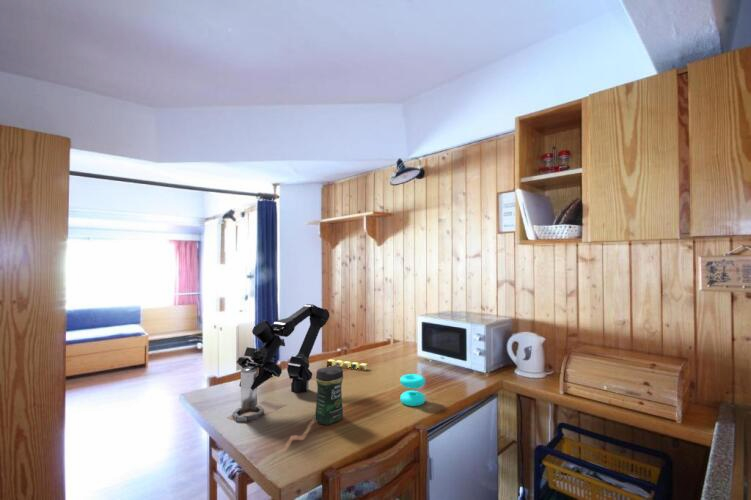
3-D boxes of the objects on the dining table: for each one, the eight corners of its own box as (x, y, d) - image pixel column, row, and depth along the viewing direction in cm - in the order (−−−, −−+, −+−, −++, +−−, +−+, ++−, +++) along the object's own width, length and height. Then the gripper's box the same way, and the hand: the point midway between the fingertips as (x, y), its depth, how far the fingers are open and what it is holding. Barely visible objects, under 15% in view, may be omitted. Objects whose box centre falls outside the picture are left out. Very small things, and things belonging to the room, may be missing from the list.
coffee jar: (326, 427, 116) (326, 372, 117) (311, 420, 122) (312, 367, 123) (347, 418, 123) (347, 366, 124) (332, 412, 129) (332, 362, 130)
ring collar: (267, 410, 128) (267, 406, 128) (255, 422, 118) (255, 417, 118) (241, 409, 129) (241, 405, 129) (227, 421, 119) (228, 416, 119)
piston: (259, 402, 126) (259, 366, 127) (253, 408, 121) (253, 371, 121) (245, 401, 127) (245, 366, 127) (237, 408, 121) (238, 371, 122)
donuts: (429, 379, 136) (407, 382, 132) (430, 404, 135) (407, 409, 131) (417, 371, 145) (395, 374, 141) (417, 395, 145) (396, 399, 141)
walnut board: (266, 402, 138) (266, 399, 138) (287, 407, 133) (287, 404, 133) (226, 421, 122) (226, 417, 122) (247, 428, 116) (247, 424, 116)
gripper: (240, 335, 133) (214, 372, 123) (276, 340, 124) (251, 381, 114) (256, 351, 139) (233, 387, 129) (291, 357, 130) (269, 396, 120)
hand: (245, 388), depth 123 cm, fingers closed on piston, 6 cm apart
